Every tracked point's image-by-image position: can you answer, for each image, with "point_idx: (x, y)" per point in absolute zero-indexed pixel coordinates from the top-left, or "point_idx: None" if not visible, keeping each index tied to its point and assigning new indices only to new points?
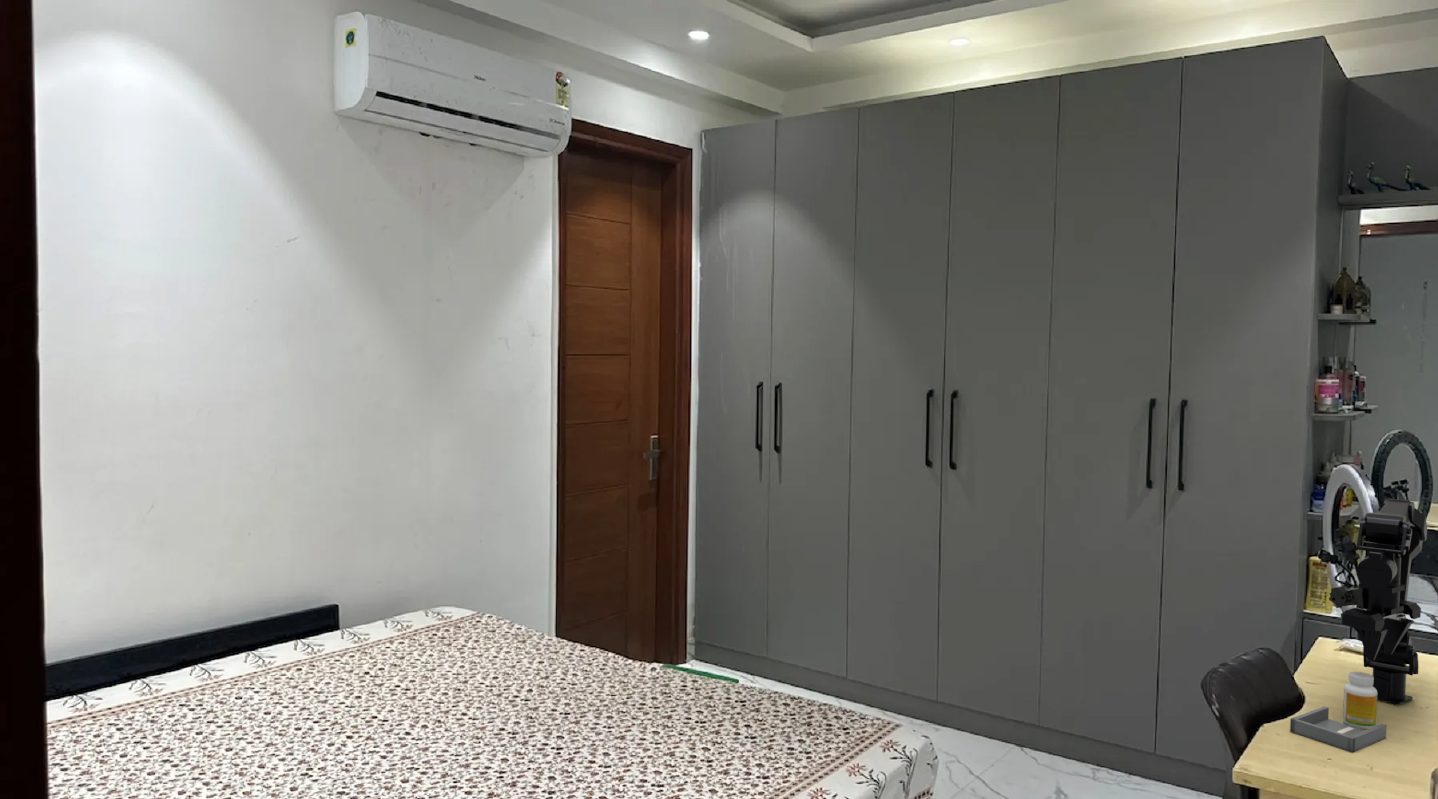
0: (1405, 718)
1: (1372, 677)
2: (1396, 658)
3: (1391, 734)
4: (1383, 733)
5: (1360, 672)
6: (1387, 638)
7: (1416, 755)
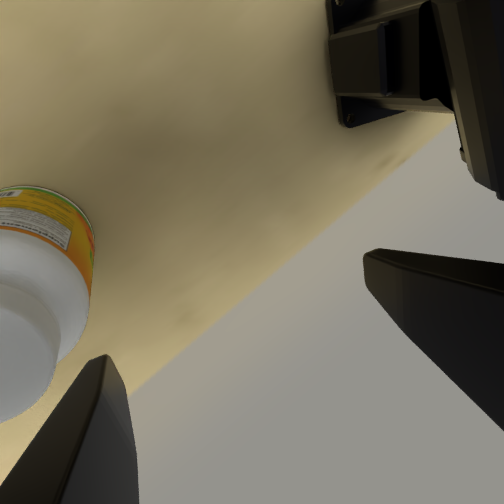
0: (256, 224)
1: (18, 412)
2: (478, 153)
3: None
4: None
5: (10, 324)
6: (472, 326)
7: None
